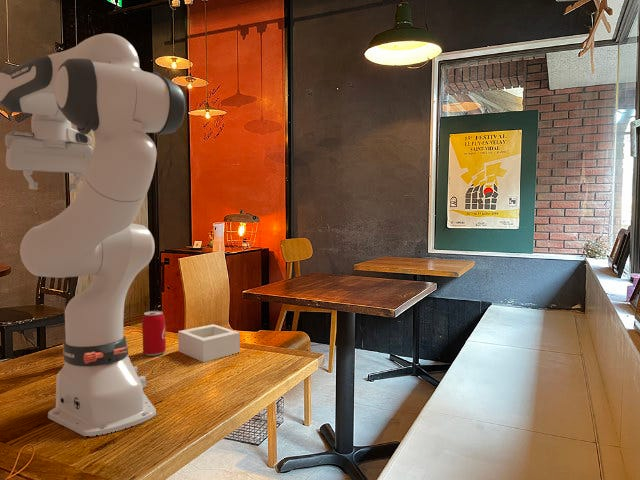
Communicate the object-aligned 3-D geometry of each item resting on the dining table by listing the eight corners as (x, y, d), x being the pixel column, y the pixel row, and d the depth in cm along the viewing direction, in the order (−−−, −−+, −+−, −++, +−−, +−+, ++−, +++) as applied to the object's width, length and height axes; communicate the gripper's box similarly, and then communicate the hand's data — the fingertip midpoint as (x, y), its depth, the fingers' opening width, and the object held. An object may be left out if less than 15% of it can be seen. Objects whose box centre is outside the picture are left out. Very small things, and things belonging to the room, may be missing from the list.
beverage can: (169, 350, 139) (168, 310, 138) (160, 357, 133) (159, 315, 132) (149, 349, 139) (148, 310, 138) (139, 356, 133) (138, 314, 132)
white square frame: (239, 352, 137) (239, 332, 136) (203, 362, 128) (203, 340, 128) (213, 343, 146) (213, 324, 146) (178, 351, 138) (178, 331, 138)
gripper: (8, 128, 109) (11, 188, 109) (97, 138, 124) (99, 190, 125) (0, 131, 113) (2, 188, 114) (87, 140, 128) (89, 191, 129)
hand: (54, 189), depth 119 cm, fingers open, 8 cm apart
